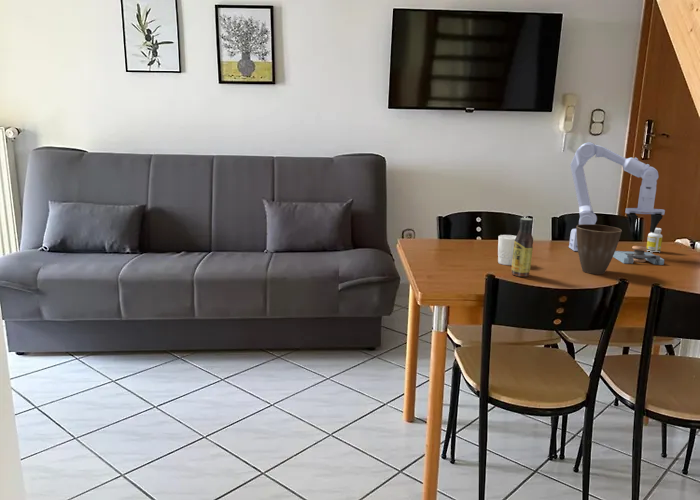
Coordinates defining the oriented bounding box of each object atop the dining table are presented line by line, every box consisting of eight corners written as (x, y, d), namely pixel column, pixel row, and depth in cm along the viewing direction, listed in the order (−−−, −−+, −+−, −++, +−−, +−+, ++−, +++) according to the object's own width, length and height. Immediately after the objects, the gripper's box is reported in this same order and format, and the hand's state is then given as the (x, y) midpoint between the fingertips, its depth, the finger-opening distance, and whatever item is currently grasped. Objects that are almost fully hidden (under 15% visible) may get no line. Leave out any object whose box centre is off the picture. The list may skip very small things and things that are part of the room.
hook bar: (628, 263, 232) (629, 255, 231) (626, 262, 234) (627, 254, 233) (659, 264, 232) (660, 256, 231) (657, 263, 233) (658, 255, 233)
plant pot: (579, 264, 228) (584, 222, 225) (621, 271, 219) (627, 228, 216) (565, 271, 217) (570, 227, 214) (608, 279, 208) (614, 233, 204)
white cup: (518, 262, 229) (521, 236, 227) (517, 266, 222) (519, 239, 220) (497, 259, 232) (499, 234, 230) (495, 264, 225) (497, 237, 222)
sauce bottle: (508, 272, 213) (513, 216, 209) (525, 272, 214) (531, 216, 209) (514, 277, 207) (520, 219, 202) (532, 277, 207) (538, 220, 203)
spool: (633, 262, 235) (635, 248, 234) (628, 259, 240) (630, 245, 239) (647, 262, 234) (649, 248, 233) (642, 259, 239) (644, 246, 238)
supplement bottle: (657, 250, 257) (660, 227, 255) (662, 253, 252) (665, 230, 250) (643, 249, 258) (647, 227, 256) (648, 252, 253) (652, 229, 250)
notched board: (623, 263, 232) (624, 258, 232) (610, 255, 245) (611, 250, 244) (663, 264, 232) (664, 259, 231) (648, 256, 244) (649, 252, 244)
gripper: (632, 198, 237) (627, 233, 240) (670, 200, 236) (665, 234, 239) (625, 196, 244) (620, 229, 247) (661, 197, 243) (657, 231, 246)
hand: (642, 231), depth 243 cm, fingers open, 7 cm apart
